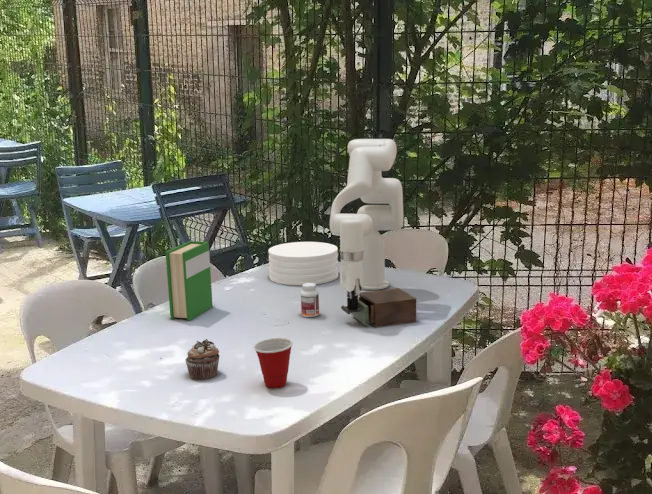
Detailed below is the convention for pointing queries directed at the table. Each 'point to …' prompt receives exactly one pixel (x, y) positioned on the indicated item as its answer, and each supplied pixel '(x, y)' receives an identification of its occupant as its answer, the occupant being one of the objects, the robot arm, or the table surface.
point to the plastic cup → (274, 360)
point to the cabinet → (391, 306)
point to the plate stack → (303, 263)
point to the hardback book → (189, 280)
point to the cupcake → (203, 360)
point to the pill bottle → (309, 300)
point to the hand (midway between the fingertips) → (352, 309)
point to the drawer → (362, 311)
